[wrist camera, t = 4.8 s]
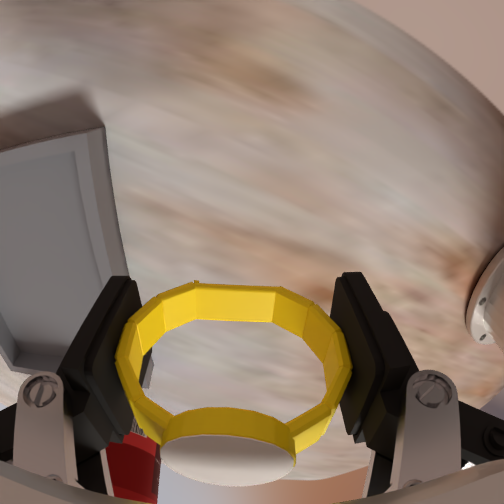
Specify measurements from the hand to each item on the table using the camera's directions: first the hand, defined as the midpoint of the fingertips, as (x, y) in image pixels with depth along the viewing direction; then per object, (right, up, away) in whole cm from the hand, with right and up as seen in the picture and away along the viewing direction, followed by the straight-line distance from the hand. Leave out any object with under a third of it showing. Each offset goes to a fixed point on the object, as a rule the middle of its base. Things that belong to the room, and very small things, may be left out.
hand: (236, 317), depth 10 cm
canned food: (-12, -15, +18) cm, 27 cm away
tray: (-14, +1, +9) cm, 17 cm away
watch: (0, 0, +1) cm, 1 cm away
